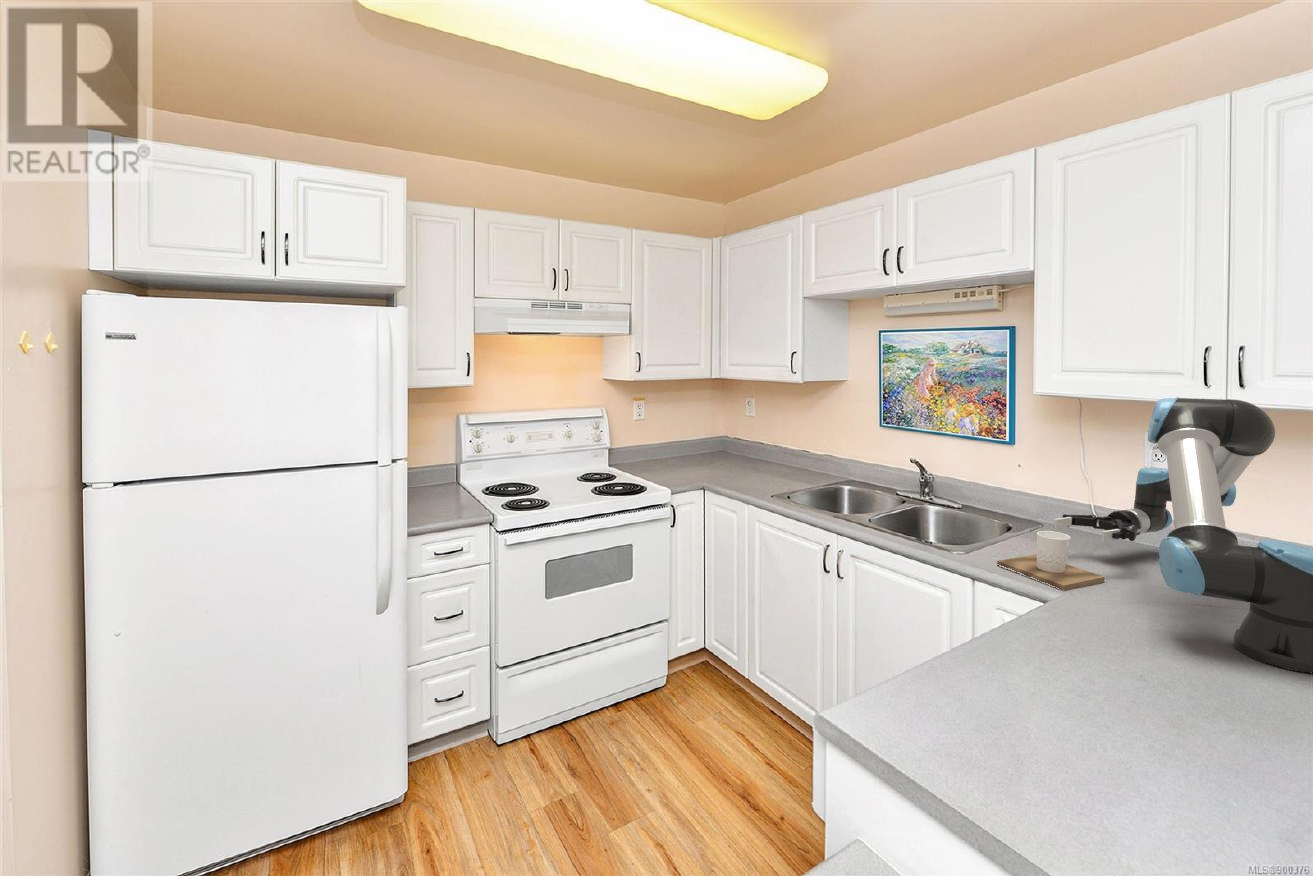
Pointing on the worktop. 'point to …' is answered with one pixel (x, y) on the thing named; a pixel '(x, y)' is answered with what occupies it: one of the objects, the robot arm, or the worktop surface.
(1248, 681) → the worktop surface
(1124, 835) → the worktop surface
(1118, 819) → the worktop surface
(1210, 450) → the robot arm
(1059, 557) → the white cup
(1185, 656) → the worktop surface
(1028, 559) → the walnut board
